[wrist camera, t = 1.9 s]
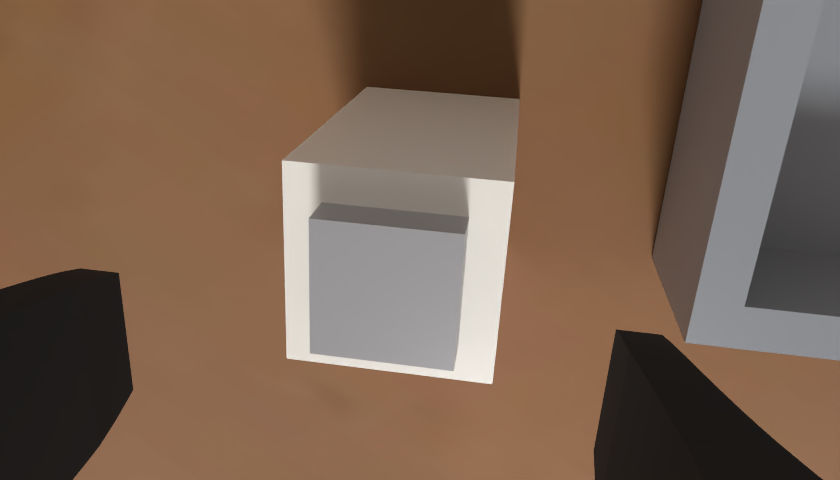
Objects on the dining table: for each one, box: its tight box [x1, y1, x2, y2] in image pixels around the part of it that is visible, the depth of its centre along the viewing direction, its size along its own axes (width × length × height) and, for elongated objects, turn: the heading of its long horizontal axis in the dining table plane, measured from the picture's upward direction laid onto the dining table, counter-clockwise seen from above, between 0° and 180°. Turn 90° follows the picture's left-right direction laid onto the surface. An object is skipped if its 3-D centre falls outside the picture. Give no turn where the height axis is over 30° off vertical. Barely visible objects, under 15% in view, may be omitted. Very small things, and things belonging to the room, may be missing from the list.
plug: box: [282, 87, 520, 384], centre depth 16 cm, size 4×4×8 cm
